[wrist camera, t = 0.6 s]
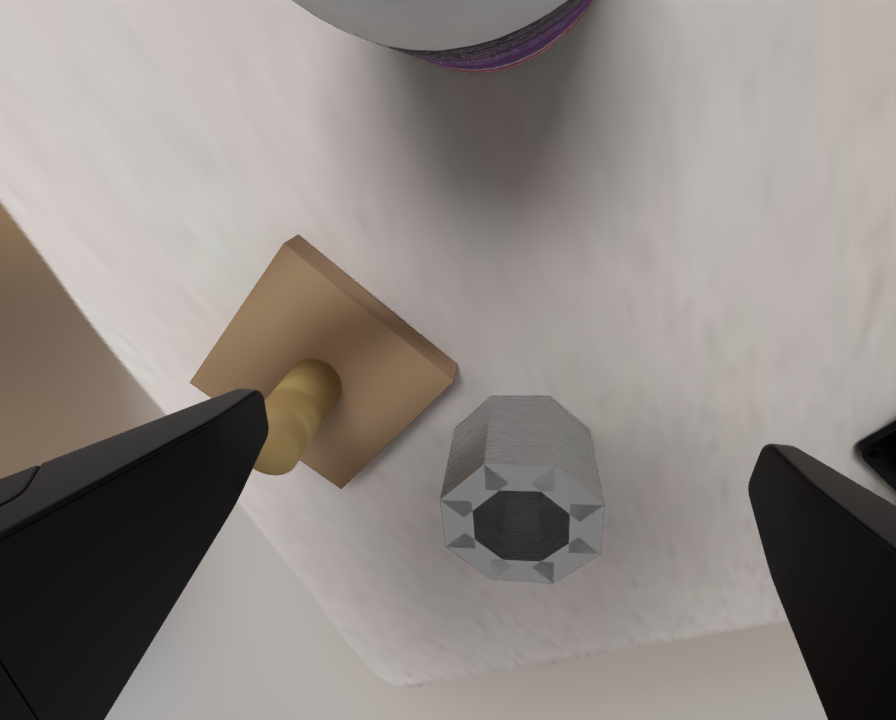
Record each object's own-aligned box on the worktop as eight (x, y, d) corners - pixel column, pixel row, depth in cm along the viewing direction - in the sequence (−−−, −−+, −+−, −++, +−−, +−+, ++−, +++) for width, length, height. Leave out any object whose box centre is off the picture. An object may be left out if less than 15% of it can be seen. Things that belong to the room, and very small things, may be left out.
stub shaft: (457, 364, 23) (435, 452, 18) (350, 469, 27) (303, 569, 21) (298, 234, 21) (216, 285, 16) (207, 367, 25) (114, 447, 20)
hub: (617, 453, 24) (637, 532, 20) (523, 520, 27) (522, 601, 23) (519, 370, 23) (518, 435, 19) (430, 450, 26) (411, 522, 21)
